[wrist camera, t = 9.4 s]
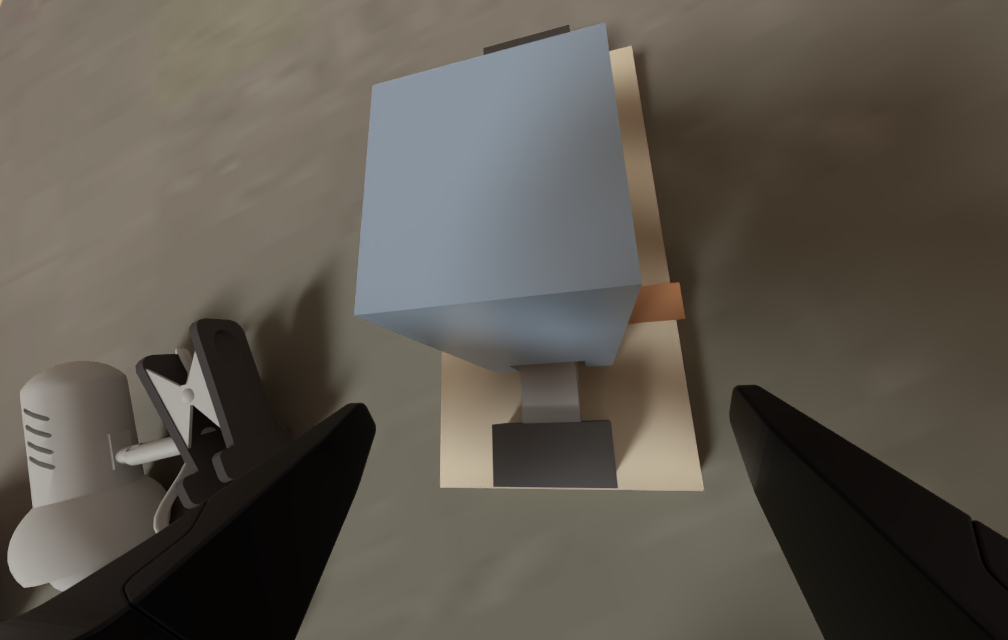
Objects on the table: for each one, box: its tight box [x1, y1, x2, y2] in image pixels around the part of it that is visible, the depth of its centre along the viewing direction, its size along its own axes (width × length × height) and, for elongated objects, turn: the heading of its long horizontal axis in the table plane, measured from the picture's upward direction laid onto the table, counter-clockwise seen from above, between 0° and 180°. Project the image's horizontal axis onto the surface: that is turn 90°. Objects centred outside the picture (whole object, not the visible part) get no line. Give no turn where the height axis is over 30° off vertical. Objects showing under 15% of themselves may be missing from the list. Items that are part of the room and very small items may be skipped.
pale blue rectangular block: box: [354, 23, 642, 373], centre depth 11 cm, size 5×5×9 cm
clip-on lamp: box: [8, 318, 294, 591], centre depth 16 cm, size 12×6×18 cm
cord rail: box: [440, 25, 704, 491], centre depth 16 cm, size 20×11×4 cm, turn 2°
